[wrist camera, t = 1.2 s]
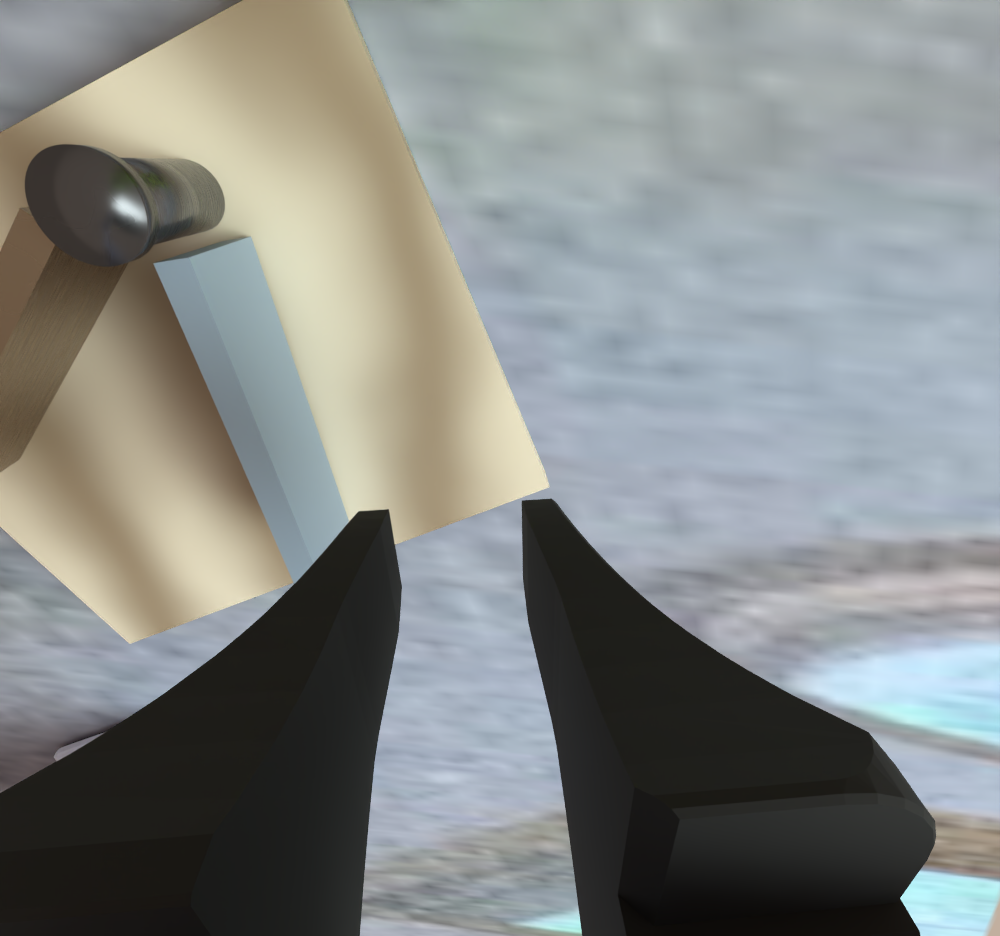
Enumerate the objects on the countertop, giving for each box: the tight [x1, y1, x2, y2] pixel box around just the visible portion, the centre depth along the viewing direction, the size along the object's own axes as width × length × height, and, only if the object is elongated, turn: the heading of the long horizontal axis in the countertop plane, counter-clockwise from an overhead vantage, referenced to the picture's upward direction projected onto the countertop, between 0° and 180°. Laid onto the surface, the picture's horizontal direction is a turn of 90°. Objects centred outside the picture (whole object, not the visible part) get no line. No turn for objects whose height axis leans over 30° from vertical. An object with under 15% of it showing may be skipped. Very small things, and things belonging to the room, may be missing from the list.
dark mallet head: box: [0, 144, 225, 472], centre depth 14 cm, size 12×2×5 cm, turn 138°
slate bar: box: [153, 237, 349, 584], centre depth 16 cm, size 10×1×4 cm, turn 8°
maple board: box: [0, 0, 549, 644], centre depth 18 cm, size 19×16×1 cm
